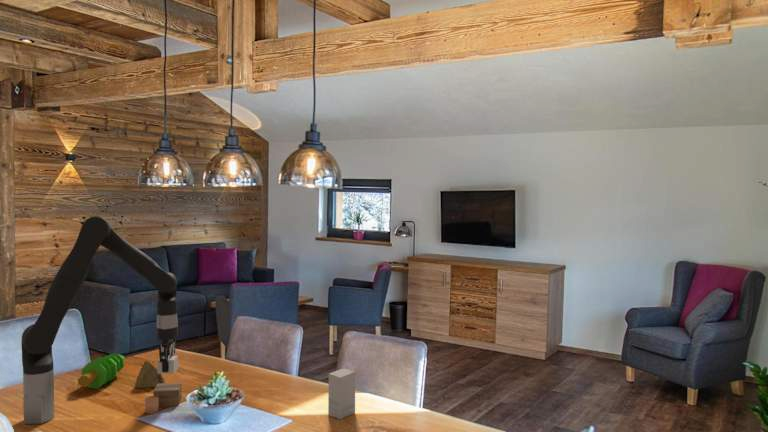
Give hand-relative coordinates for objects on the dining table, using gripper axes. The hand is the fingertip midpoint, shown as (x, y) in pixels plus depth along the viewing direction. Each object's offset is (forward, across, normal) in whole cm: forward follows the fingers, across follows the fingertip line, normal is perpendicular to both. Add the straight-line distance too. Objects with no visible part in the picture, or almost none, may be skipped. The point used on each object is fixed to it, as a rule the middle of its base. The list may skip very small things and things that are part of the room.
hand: (167, 369), depth 228 cm
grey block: (+1, 0, 0) cm, 1 cm away
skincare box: (+13, +16, +66) cm, 69 cm away
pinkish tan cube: (+13, +10, -3) cm, 16 cm away
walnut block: (+13, 0, 0) cm, 13 cm away
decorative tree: (+13, -25, -32) cm, 43 cm away
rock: (+13, -18, -12) cm, 25 cm away
